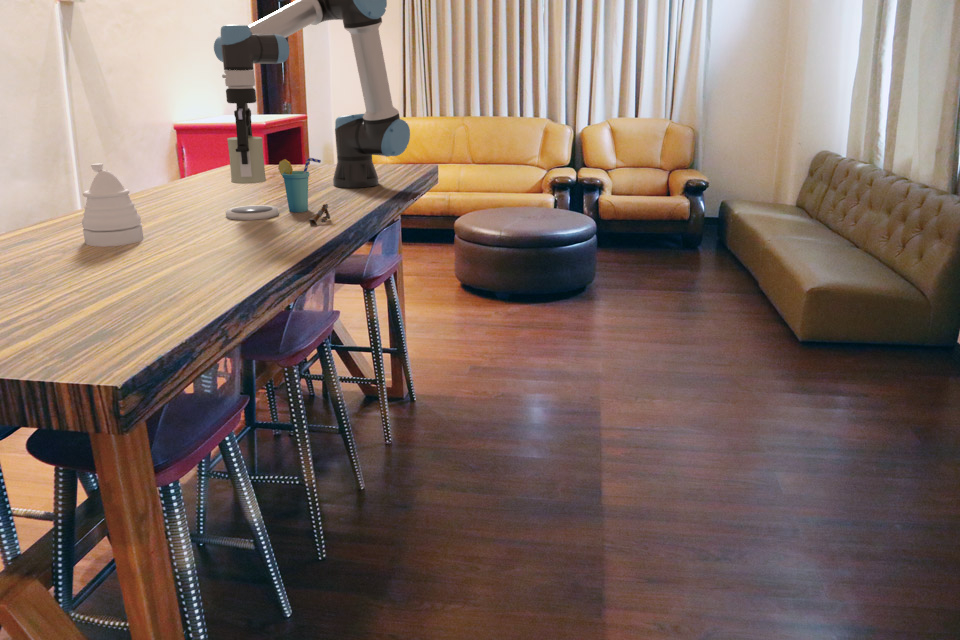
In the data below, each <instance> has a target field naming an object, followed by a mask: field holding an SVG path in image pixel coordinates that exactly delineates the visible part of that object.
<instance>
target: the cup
mask: <svg viewBox="0 0 960 640" xmlns="http://www.w3.org/2000/svg"><path fill="white" fill-rule="evenodd" d="M310 162H314V163H319V164H321V162H322V160H321V159H317V158H314V157H308V158H307V159H306V161H305V166H304V168H303V170H293V166H292V164H291V162H290V161H288V160H287V159H286V158H285V159H282V160H280V161H279V163H278V170H279V171H278V172H279V174H280V176H282V179H283V183H284V187H285V193H286V199H287V205H288V211H290V212H291V213H304V212H308V210H309V178H310V171H308V168H309V164H310Z"/></svg>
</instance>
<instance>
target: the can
mask: <svg viewBox="0 0 960 640" xmlns="http://www.w3.org/2000/svg"><path fill="white" fill-rule="evenodd" d="M252 136H253V135H252ZM252 136H248V145H249V151H250V160H251V172H252V177H241V170H240V159H239V152H236V149H237V147H238V145H237V136H234V137H233V136H232V137H228V138H226V140H227V146H228V156H229V165H230V166H229V167H230V175H231V176H230V177H231V180H230V182H231V183H232V184H241V185H243V184H244V185H246V184H247V185H248V184H249V185H250V184H259V183H264V182H267V178H266V170H265V157H264V147H263V146H264V145H263V144H264V143H263V137H261V136H253V137H252Z"/></svg>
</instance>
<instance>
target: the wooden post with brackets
mask: <svg viewBox="0 0 960 640" xmlns="http://www.w3.org/2000/svg"><path fill="white" fill-rule="evenodd" d="M328 208H329V204H328V203H326V204H325V203H324V204H323V205H322V206H321V209H320V210H318V211H317V213H316V214H315V216H313V217H312V218H308V222H309V224H310V225H311V226H317V225H318V224H317V222H318V220H319V219H320V218H321V217H322V218H321V223H325V222H326V221H328V220H330V219H331V215H330V213H329V210H328ZM324 214H325V216H323V215H324Z"/></svg>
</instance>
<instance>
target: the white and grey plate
mask: <svg viewBox="0 0 960 640" xmlns="http://www.w3.org/2000/svg"><path fill="white" fill-rule="evenodd" d="M279 214H280V213H279V207H277V206H274V205H266V204H265V205H263V204H262V205H261V204H257V205H255V204H253V205H241V206H235V207H234V206H233V207H230V208H228V209H225V218H226V219H228V220H234V221H236V220H237V221H256V220H257V221H258V220H266V219H270V218H275V217H278V215H279Z"/></svg>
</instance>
